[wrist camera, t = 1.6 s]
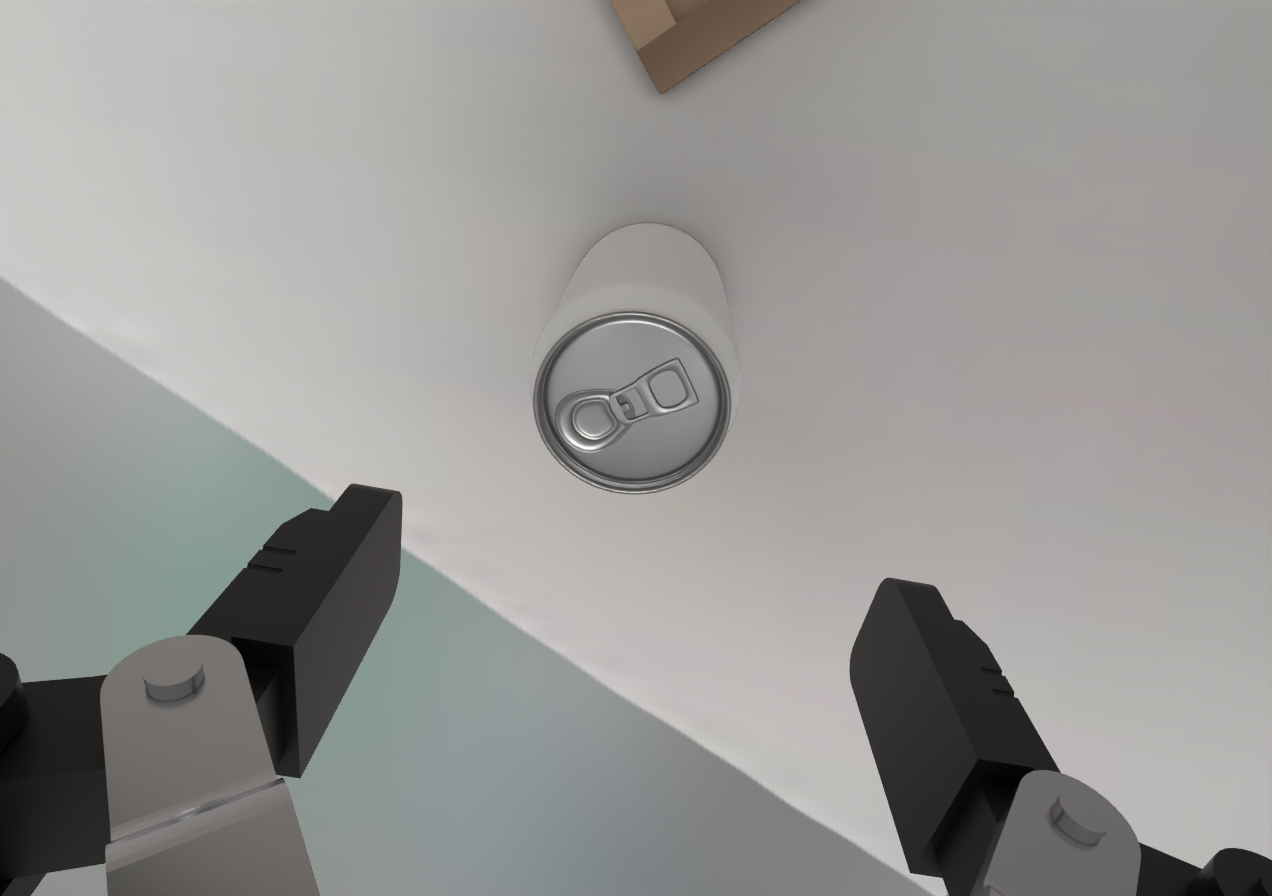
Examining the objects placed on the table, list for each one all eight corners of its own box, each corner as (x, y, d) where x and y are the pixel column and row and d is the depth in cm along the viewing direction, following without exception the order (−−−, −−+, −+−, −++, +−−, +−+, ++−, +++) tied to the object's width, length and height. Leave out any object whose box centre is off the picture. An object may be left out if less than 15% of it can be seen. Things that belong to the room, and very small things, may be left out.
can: (546, 261, 30) (474, 356, 20) (686, 192, 29) (690, 254, 18) (614, 390, 33) (583, 536, 22) (746, 333, 31) (781, 460, 20)
